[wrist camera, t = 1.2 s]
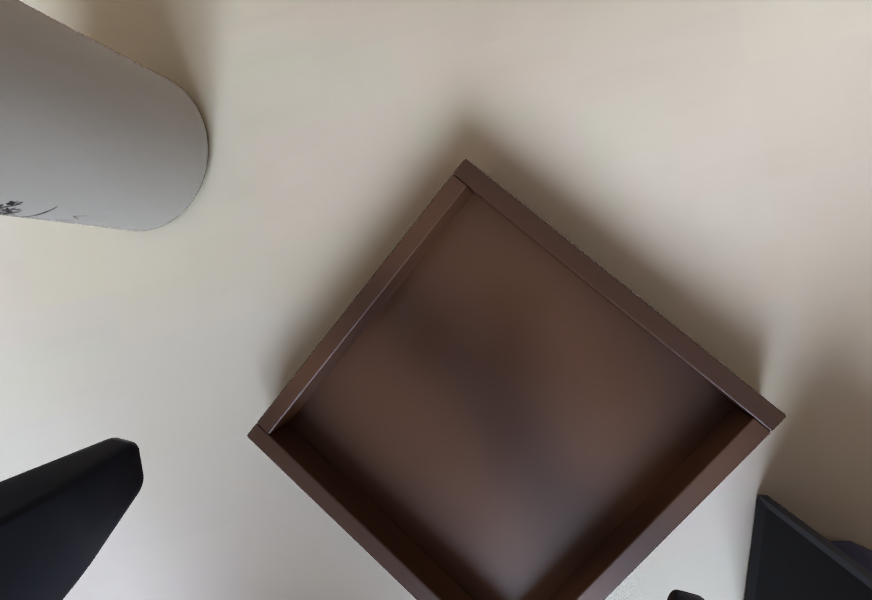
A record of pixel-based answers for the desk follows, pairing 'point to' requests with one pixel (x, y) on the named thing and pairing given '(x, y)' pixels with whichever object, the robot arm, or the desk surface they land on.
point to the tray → (507, 412)
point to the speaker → (802, 561)
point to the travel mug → (90, 130)
